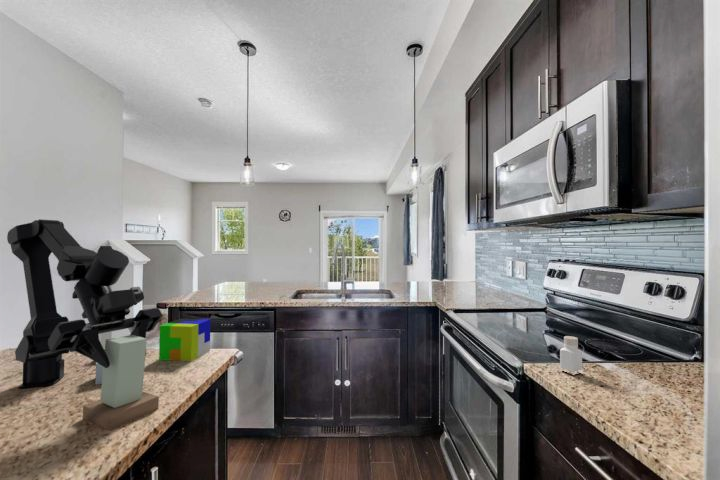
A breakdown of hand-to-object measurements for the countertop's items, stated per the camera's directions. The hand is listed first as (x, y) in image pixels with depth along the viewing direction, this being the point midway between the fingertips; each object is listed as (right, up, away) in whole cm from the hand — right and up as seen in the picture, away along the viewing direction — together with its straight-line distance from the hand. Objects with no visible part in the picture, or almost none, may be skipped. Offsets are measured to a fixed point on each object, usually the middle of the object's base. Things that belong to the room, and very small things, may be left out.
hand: (127, 361), depth 66 cm
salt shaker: (+103, -12, +25) cm, 107 cm away
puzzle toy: (-8, -12, +37) cm, 39 cm away
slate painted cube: (-17, -11, +18) cm, 27 cm away
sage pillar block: (-1, -8, 0) cm, 8 cm away
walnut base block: (-1, -11, 0) cm, 11 cm away
